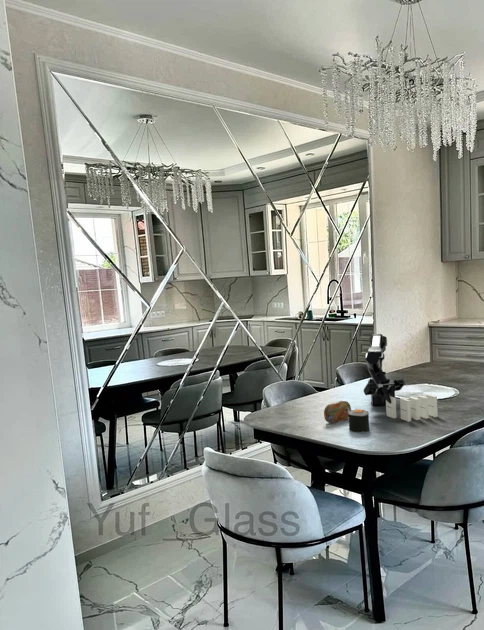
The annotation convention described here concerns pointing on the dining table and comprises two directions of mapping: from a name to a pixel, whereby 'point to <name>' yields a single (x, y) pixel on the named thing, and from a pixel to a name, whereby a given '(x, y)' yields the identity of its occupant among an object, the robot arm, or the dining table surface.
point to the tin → (337, 412)
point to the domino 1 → (391, 407)
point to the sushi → (358, 420)
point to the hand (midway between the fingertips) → (392, 402)
